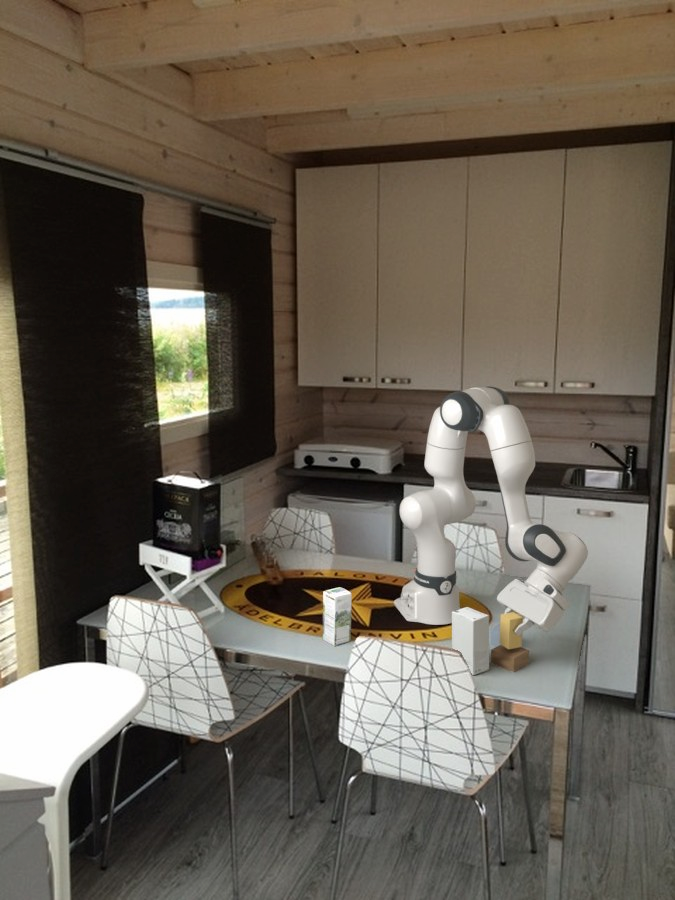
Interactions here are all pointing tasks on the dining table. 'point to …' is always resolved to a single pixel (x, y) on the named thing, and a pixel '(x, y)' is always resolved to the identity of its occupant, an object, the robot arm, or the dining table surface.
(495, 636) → the slate cube
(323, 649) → the dining table surface
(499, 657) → the walnut block
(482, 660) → the skincare box
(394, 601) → the robot arm
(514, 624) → the ochre post
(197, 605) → the dining table surface
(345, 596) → the syrup box
